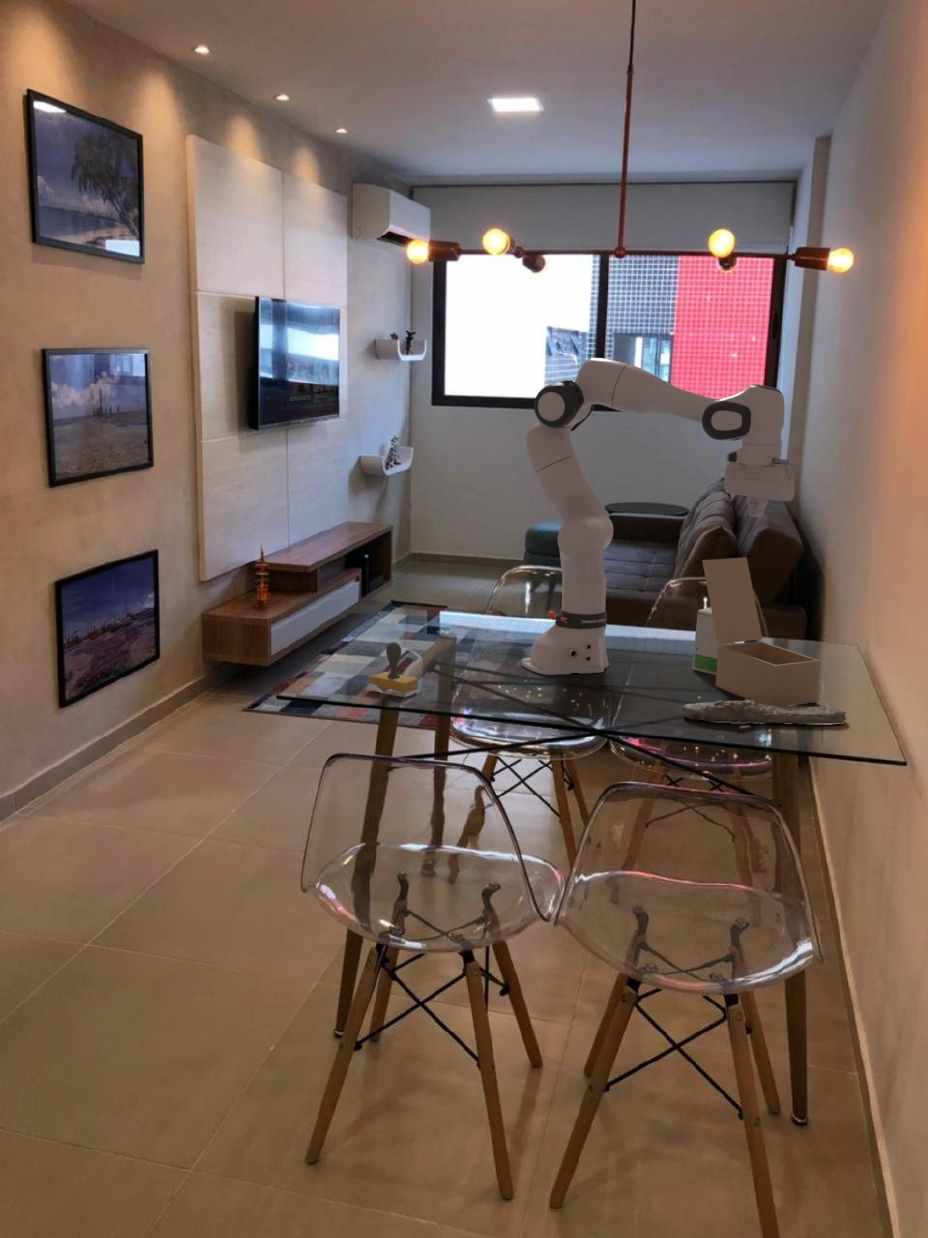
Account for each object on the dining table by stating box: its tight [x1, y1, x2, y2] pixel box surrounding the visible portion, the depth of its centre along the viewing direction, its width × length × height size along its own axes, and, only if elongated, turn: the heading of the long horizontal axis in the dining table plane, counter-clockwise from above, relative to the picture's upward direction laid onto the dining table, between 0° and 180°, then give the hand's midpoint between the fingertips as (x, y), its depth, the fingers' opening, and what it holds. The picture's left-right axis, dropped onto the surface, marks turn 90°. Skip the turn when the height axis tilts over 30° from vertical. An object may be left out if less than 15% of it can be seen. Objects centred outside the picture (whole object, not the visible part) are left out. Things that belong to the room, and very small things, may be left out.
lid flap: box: [702, 557, 763, 644], centre depth 259 cm, size 13×20×1 cm
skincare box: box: [691, 606, 736, 676], centre depth 269 cm, size 8×7×16 cm
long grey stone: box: [682, 699, 847, 724], centre depth 231 cm, size 35×5×10 cm
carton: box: [715, 640, 821, 706], centre depth 250 cm, size 13×20×10 cm, turn 25°
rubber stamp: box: [369, 641, 419, 693], centre depth 246 cm, size 10×6×12 cm, turn 57°
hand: (756, 516), depth 249 cm, fingers closed
